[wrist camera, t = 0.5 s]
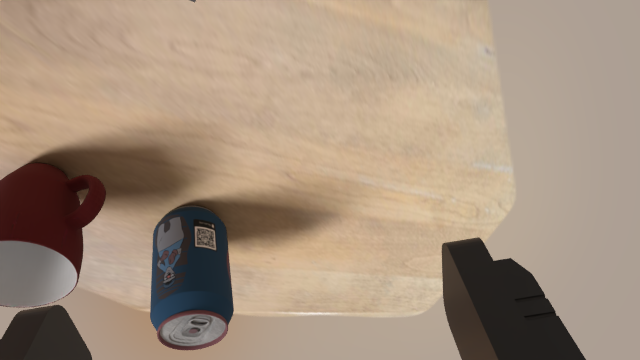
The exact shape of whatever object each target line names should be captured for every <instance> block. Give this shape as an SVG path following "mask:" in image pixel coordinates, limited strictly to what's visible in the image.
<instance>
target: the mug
mask: <svg viewBox="0 0 640 360" xmlns="http://www.w3.org/2000/svg"><path fill="white" fill-rule="evenodd" d="M88 188H89V192H88V194H87V196H86V198H85V200H84V201H83V203H82V204H81V205H80V202H79V198H78V195H77V193H76V192H77V191H80V190H83V189H88ZM105 196H106V190H105V187H104V185H103V184H102V182H101V181H100V180H99V179H97V178H96V177H93V176H91V175H81V176H78V177H75V178H72V179H70V180H69V179H68V178H67V176H66V175H65V174H64V173H63V172H62V171H61V170H60V169H58V168H57V167H54V166H52V165H49V164H45V163H32V164H28V165H25V166H22V167H21V168H19V169H17V170H15V171H14V172H12V173H10V174H9V175H7V176H6V177H4V178H3V179H2V180H0V306H6V307H35V306H41V305H46V304H49V303H53V302H55V301H58V300H60V299H62V298H64V297H65V296H67V295H68V294H70V293H71V292H72V291H73V289H74V288H75V287H76V285H77V283H78V279H79V274H80V269H81V264H82V258H83V235H82V228H83V227H85V226H86V225H88V224H89V223H90V222H91V221H92V220H93V219H94V218H95V217H96V216H97V215H98V213H99V212H100V210H101V208H102V206H103V204H104V201H105Z"/></svg>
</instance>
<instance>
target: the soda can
mask: <svg viewBox="0 0 640 360" xmlns="http://www.w3.org/2000/svg"><path fill="white" fill-rule="evenodd" d="M233 311H234V309H233V298H232V286H231V275H230V264H229V253H228V241H227V231H226V227H225V225H224V223H223V222H222V221H221V219H220V218H219V217H218V216H217V215H215V214H214V213H213V212H212V211H210V210H209V209H207V208H204V207H200V206H183V207H179V208H176V209H174V210H172V211H170V212H169V213H167V214H166V215H165V216H164V217H163V218H162V219H161V221H160V222H159V223H158V224H157V226H156V228H155V230H154V233H153V257H152V284H151V312H150V318H151V322H152V324H153V326H154V327H155V328H156V331H157V336H158V339H159V341H160V342H161V343H162V344H163V345H165V346H167V347H169V348H173V349H177V350H196V349H202V348H206V347H209V346H212V345H214V344H216V343H218V342H219V341H221V340H222V339H223V338H224V336H225V335H226V334H227V331H228V324H229V322H230V320H231V317H232V315H233Z"/></svg>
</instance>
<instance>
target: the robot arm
mask: <svg viewBox="0 0 640 360" xmlns="http://www.w3.org/2000/svg"><path fill="white" fill-rule="evenodd" d="M442 273H443V298H444V306H445V311H446V316H447V320H448V323H449V326H450V329H451V332H452V334H453V337H454V340H455V342H456V345H457V348H458V350H459V353H460V356H461V358H462V360H586V359H585V358H584V356H583V354H582V353H581V352H580V350H579V348H578V347H577V345H576V343H575V342H574V340H573V339H572V337H571V335H570V334H569V333H568V331H567V329H566V327H565V326H564V324H563V323H562V321H561V319H560V318H559V316H556V313H555V310H554V308H553V307H552V305H551V304H550V302H549V300H548V299H546V298H545V294H544V292H543V291H542V289H541V288H540V286H539V285H538V283H537V281H536V280H535V278H534V276H533V275H532V274H531V273H530V272H529V271H527V270H526V269H525V268H523V267H522V266H521V265H519V264H518V263H516V262H515V261H514V260H512V259H511V258H509V259H503V260H497V261H493V259H492V257H491V256H490V254H489V252H488V250H487V248H486V247H485V245H484V243H483V241H482V240H481V239H480V238H472V239H466V240H460V241H454V242H448V243H443V245H442ZM0 360H92V357H91V353H90V351H89V350H88V348H87V346H86V344H85V342H84V341H83V339H82V337H81V336H80V334H79V332H78V330H77V328H76V327H75V325H74V323H73V322H72V320H71V318H70V316H69V315H68V313H67V311H66V310H65V309H64V308H63V307H62V306H60V305H54V306H47V307H41V308H35V309H29V310H23V311H20V312H19V313H17V314H16V315H15V317H14V318H13V320H12V322H11V323H10V325H9V327H8V328H7V330H6V332H5V334H4V335H3V337H2V339H1V340H0Z"/></svg>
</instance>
